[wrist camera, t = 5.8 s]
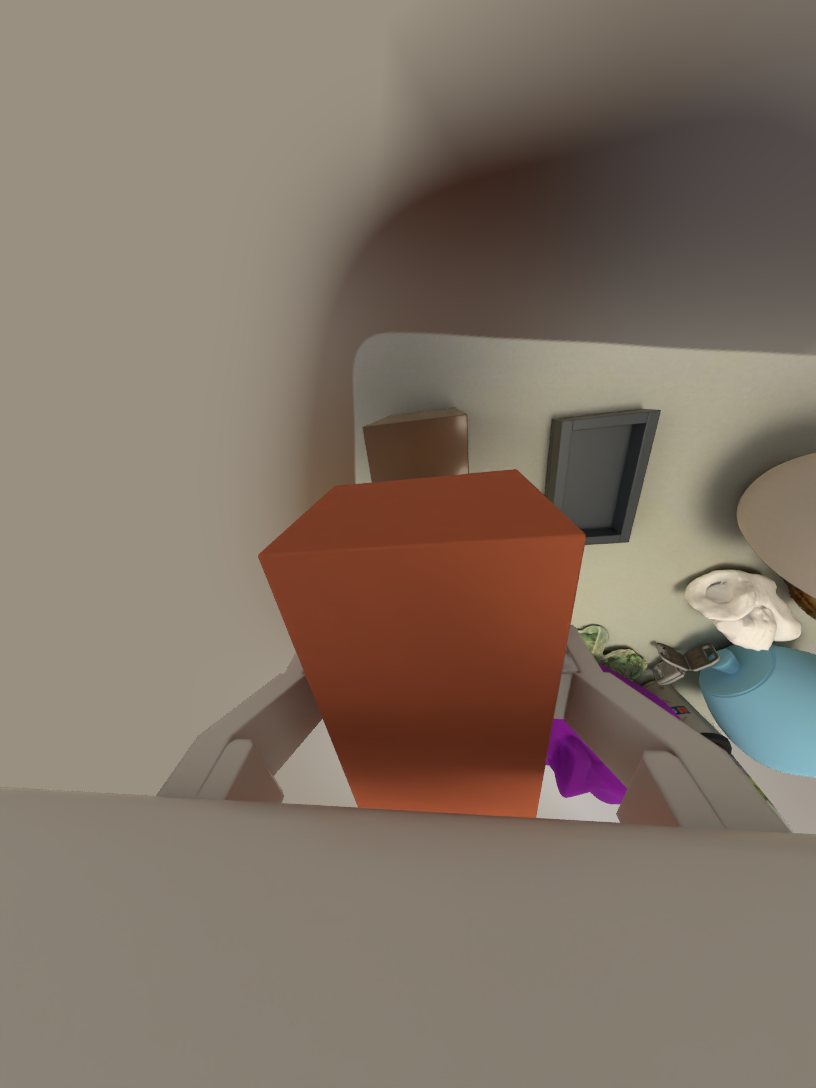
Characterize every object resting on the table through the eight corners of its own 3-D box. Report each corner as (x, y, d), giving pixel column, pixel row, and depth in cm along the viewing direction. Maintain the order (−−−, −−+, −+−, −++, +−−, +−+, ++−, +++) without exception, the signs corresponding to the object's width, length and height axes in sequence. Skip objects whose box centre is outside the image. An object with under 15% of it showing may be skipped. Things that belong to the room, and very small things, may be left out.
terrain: (538, 657, 45) (541, 665, 43) (580, 616, 41) (585, 623, 39) (616, 692, 47) (621, 701, 45) (664, 656, 43) (672, 664, 41)
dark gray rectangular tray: (551, 419, 30) (562, 421, 27) (642, 408, 29) (661, 409, 26) (540, 536, 36) (548, 547, 33) (615, 532, 35) (628, 542, 32)
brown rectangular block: (389, 415, 31) (362, 426, 20) (455, 407, 30) (467, 413, 19) (402, 511, 36) (386, 566, 24) (459, 507, 35) (471, 561, 23)
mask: (482, 679, 53) (629, 778, 45) (449, 753, 42) (639, 907, 33) (522, 616, 45) (715, 725, 36) (493, 688, 33) (769, 875, 24)
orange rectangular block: (333, 485, 8) (255, 555, 5) (517, 468, 8) (588, 534, 4) (386, 708, 13) (366, 831, 9) (504, 710, 12) (532, 842, 8)
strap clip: (661, 688, 42) (634, 671, 42) (655, 670, 44) (630, 654, 44) (723, 661, 36) (692, 642, 37) (712, 643, 39) (683, 625, 39)
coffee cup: (689, 691, 45) (751, 763, 36) (645, 710, 48) (692, 781, 39) (665, 668, 43) (724, 738, 34) (621, 688, 46) (665, 758, 37)
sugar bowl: (911, 814, 25) (769, 709, 28) (732, 769, 39) (649, 701, 42) (924, 677, 30) (802, 601, 34) (762, 679, 44) (686, 625, 47)
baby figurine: (777, 610, 38) (792, 675, 34) (662, 585, 43) (663, 640, 38) (841, 577, 31) (869, 654, 27) (695, 552, 36) (701, 614, 32)
